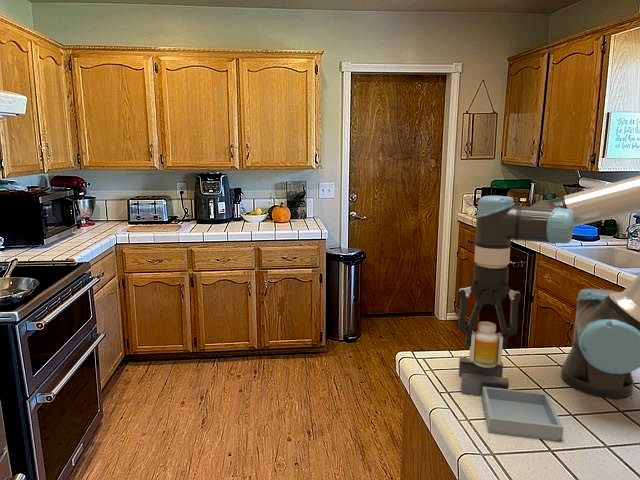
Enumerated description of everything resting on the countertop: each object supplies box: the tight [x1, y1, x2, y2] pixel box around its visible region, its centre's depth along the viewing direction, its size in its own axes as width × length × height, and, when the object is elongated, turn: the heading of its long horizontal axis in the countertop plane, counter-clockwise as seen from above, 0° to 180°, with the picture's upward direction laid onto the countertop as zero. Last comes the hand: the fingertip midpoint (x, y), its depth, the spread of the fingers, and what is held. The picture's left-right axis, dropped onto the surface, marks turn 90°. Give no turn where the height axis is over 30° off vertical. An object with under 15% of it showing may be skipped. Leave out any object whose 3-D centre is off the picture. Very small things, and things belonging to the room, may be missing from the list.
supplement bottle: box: [474, 321, 499, 368], centre depth 112 cm, size 5×5×10 cm
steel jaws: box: [458, 356, 510, 397], centre depth 114 cm, size 10×11×4 cm
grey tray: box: [481, 387, 564, 443], centre depth 100 cm, size 13×13×3 cm
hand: (485, 359), depth 113 cm, fingers closed on supplement bottle, 5 cm apart
